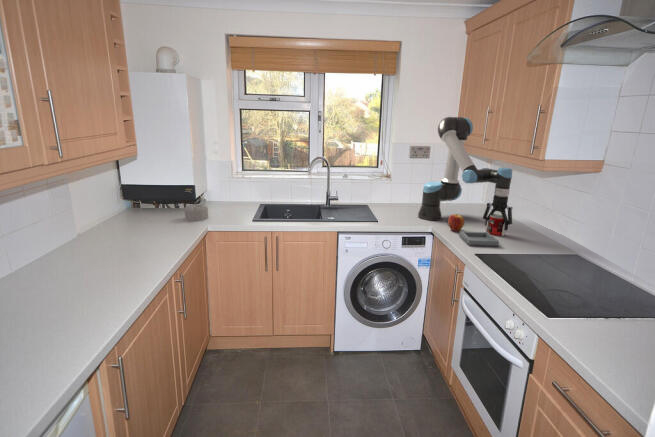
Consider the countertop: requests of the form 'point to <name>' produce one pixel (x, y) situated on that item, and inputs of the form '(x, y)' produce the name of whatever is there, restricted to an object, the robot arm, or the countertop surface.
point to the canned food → (496, 225)
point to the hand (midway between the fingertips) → (495, 233)
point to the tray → (478, 239)
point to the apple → (456, 222)
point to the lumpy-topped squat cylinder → (196, 213)
